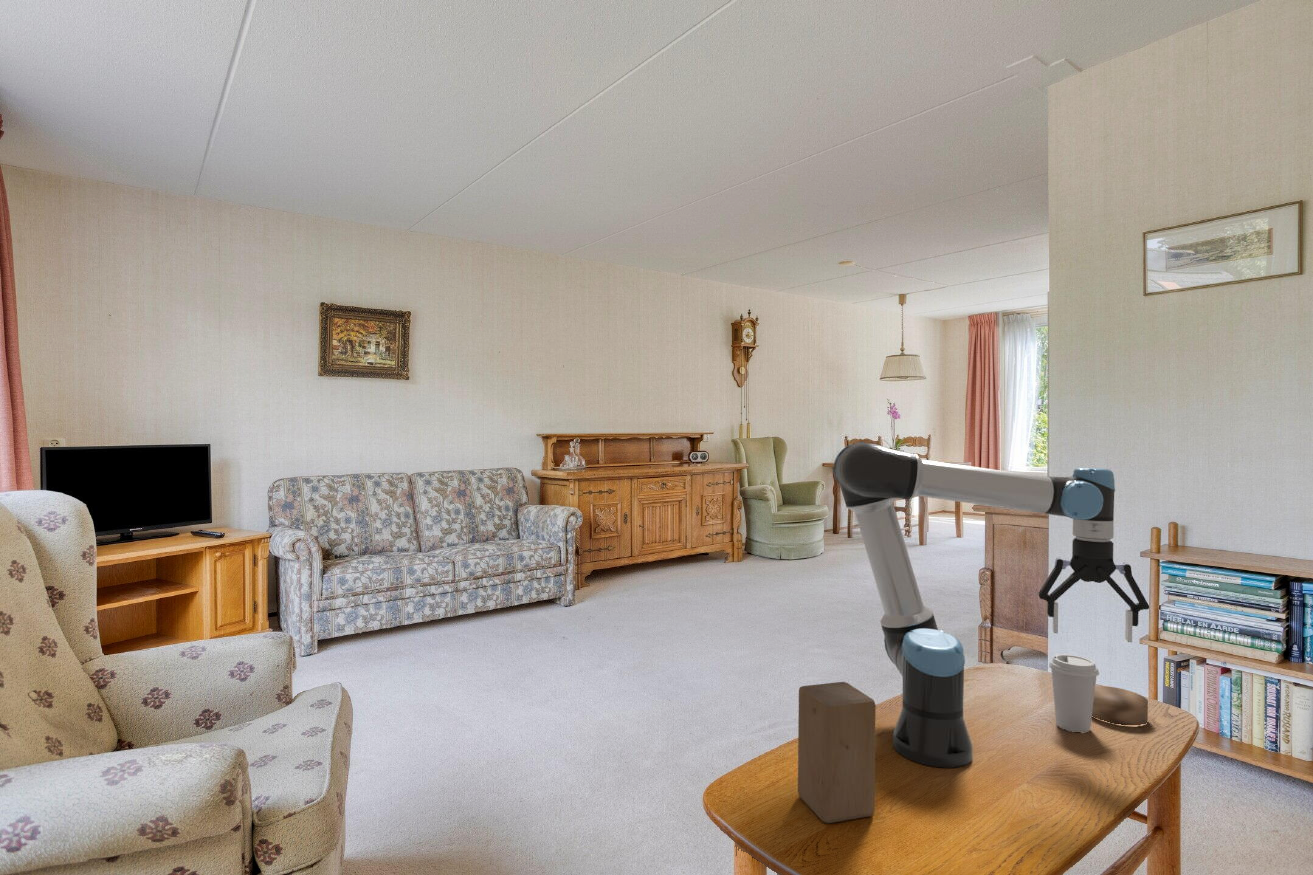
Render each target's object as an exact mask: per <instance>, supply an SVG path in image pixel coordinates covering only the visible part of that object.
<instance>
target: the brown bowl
mask: <svg viewBox="0 0 1313 875" xmlns="http://www.w3.org/2000/svg"><path fill="white" fill-rule="evenodd" d="M1148 710H1149V701H1148V699H1147V698H1146V697H1145V696H1143V695H1141V694H1139V693H1137V692H1134V691H1132V690H1128V689H1125V688H1120V687H1113V686H1107V685H1095V693H1094V701H1093V710H1092V716H1093V717H1095V718H1098V719H1100V720H1104V721H1107V722H1110V723H1114V724H1121V725H1141V724H1146V723H1147V721H1149V720H1148V718H1149V715H1148V714H1149V712H1148ZM1147 724H1148V723H1147Z"/></svg>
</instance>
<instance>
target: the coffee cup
mask: <svg viewBox="0 0 1313 875" xmlns="http://www.w3.org/2000/svg"><path fill="white" fill-rule="evenodd" d="M1048 667H1049V668H1050V669H1051V677H1052V691H1053V702H1054V713H1055V724H1057V725H1056V726H1057V727H1058V726H1059V727H1058V728H1059V729H1061V728H1062V729H1061V730H1064V729H1066V730H1067V732H1070V731H1073V732H1072V733H1074V732H1088V731H1090V732H1091V728H1092V720H1093V718H1092V710H1093V701H1094V693H1095V686H1096V685H1097V677H1098V676H1099V675H1100V671H1099V669H1098V667H1097V666H1096V662H1094V660H1091V659H1090V658H1087V657H1083V656H1080V655H1075V654H1067V653H1066V654H1065V653H1063V654H1062V653H1061V654H1055V655H1053V657H1052V659H1051V660H1050V661H1049V663H1048ZM1066 730H1065V731H1066ZM1088 733H1089V732H1088Z"/></svg>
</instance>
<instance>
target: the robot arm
mask: <svg viewBox="0 0 1313 875" xmlns="http://www.w3.org/2000/svg"><path fill="white" fill-rule="evenodd" d="M832 469H833V476H834V479H835V480H836V482H837V484H838V485H839V487H840V490H841V494H842V497H843V500H844V504H845V507H846V508H847V509H849V511H850V510H851V511H852V512H853V513H854V514H855V517H856V520H857V524H858V526H859V530H860V534H861V538H862V540H863V545H864V548H865V550H866V554H867V558H868V562H869V563H870V569H871V572H872V574H873V577H874V582H875V584H876V588H877V592H878V595H879V598H880V602H881V604H882V608H883V612H884V614H883V615H882V617H881V619H880V625H881V630H882V632H883V636H884V637H883V638H884V640H883V641H884V648H885V652H886V655H887V656H888V658H889V660H890V661H891V662H892V663H893V665H895V667H896V669H897V670H898V672H899V674H900V675H901V676H902V693H901V694H902V699H901V700H902V704H901V705H902V706H901V708H902V709H901V711H900V713H899V716H898V719H897V721H896V725H895V728H894V730H893V735H892V738H893V739H892V744H893V748H894V749H895V751H896V752H897V753H898V754H900V755H901V756H902V757H904V758H906V759H908V760H910V761H913V762H916V763H919V764H922V765H926V766H930V767H937V768H958V767H959V768H960V767H963V766H966V765H968V764H970V763H971V762H972V760H973V749H974V748H973V743H972V740H971V738H970V735H969V732H968V731H969V730H968V729H967V725H966V722H965V719H964V695H965V694H964V692H965V691H964V690H965V689H964V688H965V687H964V685H965V683H964V682H965V681H964V678H965V675H964V674H965V673H964V672H965V663H966V657H965V654H964V653H965V652H964V646H963V644H962V643H961V641H960V640H959V638H957V636H955V635H953V634H950V633H946V632H945V631H943V630H939V627H938V625H937V621H936V618H935V616H934V611H933V610H932V609H929V607H927V606H925V605H924V603H923V599H922V597H921V593H920V589H919V585H918V583H917V579H916V576H915V573H914V569H913V566H912V563H911V559H910V557H909V552H908V549H907V546H906V543H905V539H904V535H903V532H902V529H901V525H900V522H899V519H898V516H897V512H896V508H895V506H894V504H895V501H896V500H897V499H903V500H908V501H911V500H913V498H915V497H921V498H922V497H924V498H930V499H935V500H936V499H938V500H945V501H951V502H957V503H958V502H960V503H966V504H967V503H968V504H973V505H980V506H981V505H982V506H988V507H995V508H1003V509H1008V510H1009V509H1011V510H1017V511H1018V510H1019V511H1025V512H1032V513H1040V514H1045V515H1050V516H1051V515H1052V516H1058V517H1063V518H1065V517H1066V518H1069V519H1072V535H1073V537H1074V538H1073V539H1072V549H1071V550H1072V553H1071V554H1072V556H1071V559H1070V560H1069V559H1068V560H1067V559H1064V558H1061V557H1056V558H1055V561H1054V562H1055V563H1054V567H1053V569H1052V570H1051V572H1050V574H1049V575H1048V577H1047V578H1046V580H1045V582H1044V583H1043V585H1042V586H1041V588H1040V590H1039V591H1038V592H1037V595H1038V598H1039V599H1040V600H1044V601H1046V603H1047V609H1046V612H1047V615H1048V617H1049V618H1052V632H1053V634H1057V635H1058V634H1059V603H1058V601H1057V600H1059V598H1060V597H1062V595H1064V594H1066V592H1067V591H1068V590H1069V589H1070V588H1071V587H1072V586H1074V585H1075V584H1076V583H1078V582H1079V581H1080V580H1081V581H1083V582H1085V583H1090V582H1094V583H1096V584H1097V583H1098V584H1099V583H1100V584H1102V583H1104V582H1105V581H1106V582H1107V584H1108V585H1109V586H1110V587H1111V588H1112V589H1113V590H1114V592H1116V593H1117V595H1118V596H1119V597H1120V598H1121V599H1122V600H1123V601H1124V603H1126V605H1127V606H1128V607H1129V608H1125V630H1124V631H1125V632H1124V633H1125V634H1124V636H1125V637H1124V638H1125V640H1126V641H1127V643H1133V627H1138V626H1139V612H1140V611H1143V610H1149V609H1150V605H1149V603H1148V601H1147V599H1146V598H1145V596H1144V594H1143V592H1142V590H1141V589H1140V587H1139V585H1138V583H1137V582H1136V580H1135V578H1134V576H1133V574H1132V566H1131V565H1130V564H1129V563H1128V562H1123V563H1115V562H1114V542H1113V541H1112V540H1113V539H1114V529H1115V528H1114V527H1115V526H1114V523H1115V522H1114V516H1115V492H1116V487H1115V475H1114V472H1113V470H1111V469H1108V468H1100V467H1099V468H1098V467H1076V468H1074V470H1073V472H1072V476H1045V475H1039V474H1030V473H1023V472H1015V471H1008V470H1002V469H1001V470H1000V469H995V468H994V469H993V468H987V467H980V466H972V465H965V464H956V463H950V462H949V463H947V462H940V461H935V460H927V459H921V457H919V456H918V454H917V453H911V452H905V451H904V452H903V451H899V450H897V449H892V448H888V447H887V446H883V445H879V444H876V443H869V442H865V441H863V442H861V441H860V442H855V443H854V442H853V443H851V444H849V445H847V446H845V447H844V448H842V449H841V451H839V453H838V454H837V456H836V457H835V460H834V463H833V468H832ZM1067 567H1070V568H1071V569H1072V570H1073V572H1072V573H1071V574H1070V575H1069V576H1068V577H1067V578H1066V579H1065V580H1064V581H1062V583H1061V584H1060V585H1058V586H1057V588H1055V589H1054V590H1052V592H1051V593H1050V591H1051V589H1052V587H1053V586H1054V585H1055V582H1056V581H1057V580H1058V578H1059V576H1060V575H1061V573H1062V571H1063V570H1066V569H1067ZM1116 570H1117V571H1118V572H1119V573H1120V574H1122V575H1123V577H1124V578H1125V580H1126V581H1127V583H1128V585H1129V587H1130V589H1131V591H1132V593H1133V594H1134V596H1135V598H1136V600H1137V601H1138V602H1136V603H1135V602H1134V601H1133V600H1132V598H1131V597H1129V595H1128V594H1127V593H1126V592H1125V591H1124V590H1123V589H1122V587H1121V586H1120V585H1119V584H1118V583H1117V582H1116V581H1115V580H1114V579H1113V577H1111V575H1113V574H1114V573H1115V571H1116Z"/></svg>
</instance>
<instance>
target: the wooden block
mask: <svg viewBox="0 0 1313 875" xmlns="http://www.w3.org/2000/svg"><path fill="white" fill-rule="evenodd" d="M797 723H798V730H797V731H798V734H797V736H798V737H797V739H798V740H797V751H798V752H797V756H798V757H797V793H798V796H799V798H800V799H801V800H802V801H803V802H804V803H805V804H806V805H807V806H808V807H809V808H810V810H812V812H813V813H815V815H816V816H817V817H818V818H819V819H820V820H821V821H822V822H823V823H826V824H832V823H838V822H844V821H849V820H856V819H860V818H861V819H862V818H866V817H872V816H873V815H874V814H875V812H876V810H875V809H876V808H875V806H876V805H875V804H876V802H875V801H876V798H875V796H876V794H875V793H876V792H875V791H876V786H875V785H876V781H875V780H876V703H875V700H874V699H873V698H872V697H870V696H868V695H867V694H865V693H863V692H862V691H861V690H859V689H858V688H856V687H855V686H853V685H851V684H850V683H848V682H846V681H837V682H830V683H828V682H827V683H820V684H819V683H818V684H817V683H816V684H811V685H810V684H809V685H802V686H799V688H798V722H797Z"/></svg>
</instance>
